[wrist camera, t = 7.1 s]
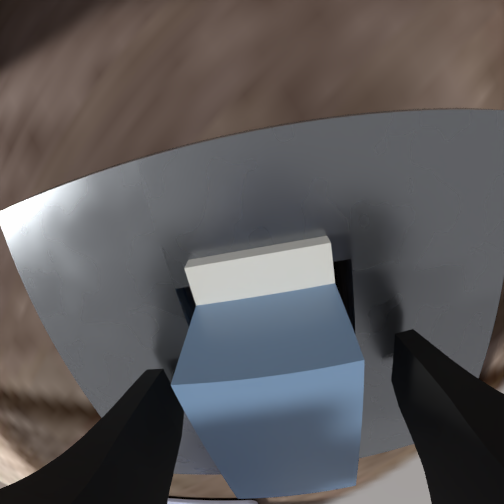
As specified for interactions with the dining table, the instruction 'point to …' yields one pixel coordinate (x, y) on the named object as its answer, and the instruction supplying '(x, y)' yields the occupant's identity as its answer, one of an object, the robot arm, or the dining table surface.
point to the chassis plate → (271, 233)
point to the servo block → (273, 370)
